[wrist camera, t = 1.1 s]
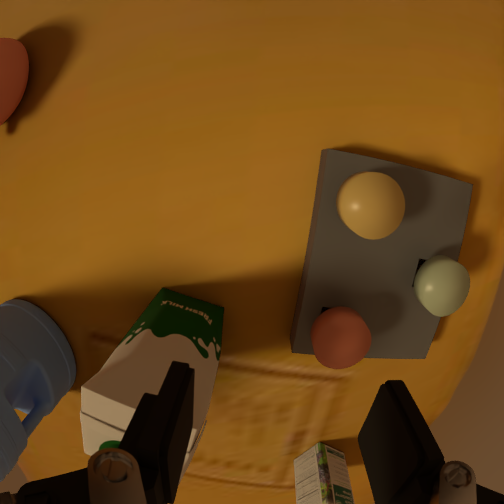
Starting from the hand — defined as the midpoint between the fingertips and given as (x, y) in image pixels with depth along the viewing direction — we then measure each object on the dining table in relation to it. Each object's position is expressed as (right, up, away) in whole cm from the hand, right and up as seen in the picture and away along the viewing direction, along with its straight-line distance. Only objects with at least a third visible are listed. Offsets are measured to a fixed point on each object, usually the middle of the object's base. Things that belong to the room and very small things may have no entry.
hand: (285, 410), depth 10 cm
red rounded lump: (+7, -1, +21) cm, 22 cm away
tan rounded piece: (+8, +10, +18) cm, 22 cm away
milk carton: (-8, -3, +25) cm, 26 cm away
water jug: (-32, -8, +27) cm, 43 cm away
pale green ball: (+17, +3, +19) cm, 26 cm away
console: (+12, +4, +22) cm, 25 cm away
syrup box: (+9, -25, +30) cm, 40 cm away
